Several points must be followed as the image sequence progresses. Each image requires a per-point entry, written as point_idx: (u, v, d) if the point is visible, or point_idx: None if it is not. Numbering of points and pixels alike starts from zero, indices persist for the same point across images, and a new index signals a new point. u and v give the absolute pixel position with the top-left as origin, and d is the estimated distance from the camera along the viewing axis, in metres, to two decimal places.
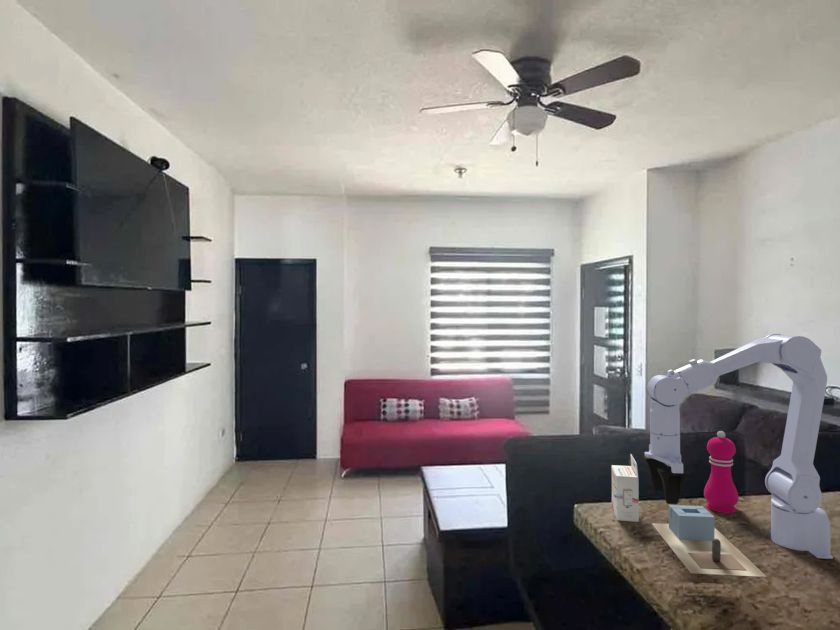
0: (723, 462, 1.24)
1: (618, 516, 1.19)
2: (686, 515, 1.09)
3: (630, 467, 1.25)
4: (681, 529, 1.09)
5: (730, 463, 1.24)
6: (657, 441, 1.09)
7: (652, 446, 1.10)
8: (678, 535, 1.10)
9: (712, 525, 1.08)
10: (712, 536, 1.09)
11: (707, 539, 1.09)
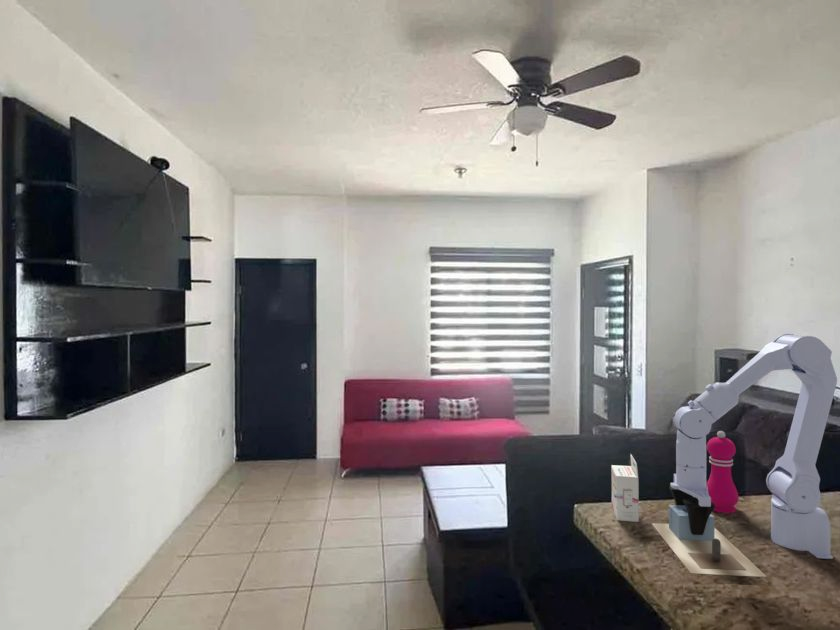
0: (723, 462, 1.24)
1: (618, 516, 1.19)
2: (686, 515, 1.09)
3: (630, 467, 1.25)
4: (681, 529, 1.09)
5: (730, 463, 1.24)
6: (684, 472, 1.10)
7: (678, 477, 1.11)
8: (678, 535, 1.10)
9: (712, 525, 1.08)
10: (712, 536, 1.09)
11: (707, 539, 1.09)
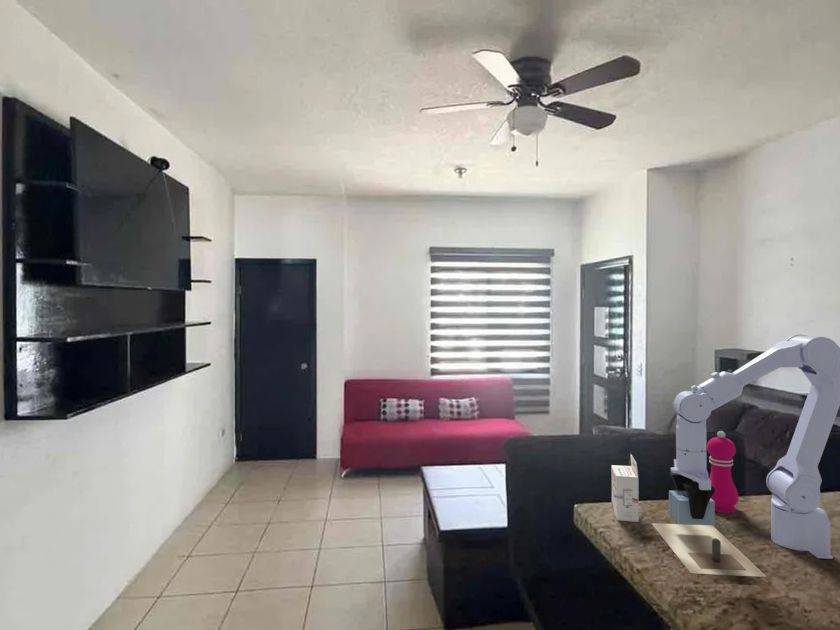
0: (723, 462, 1.24)
1: (618, 516, 1.19)
2: (686, 500, 1.09)
3: (630, 467, 1.25)
4: (681, 514, 1.09)
5: (730, 463, 1.24)
6: (684, 457, 1.10)
7: (678, 462, 1.11)
8: (678, 520, 1.09)
9: (712, 509, 1.08)
10: (712, 520, 1.08)
11: (707, 524, 1.09)
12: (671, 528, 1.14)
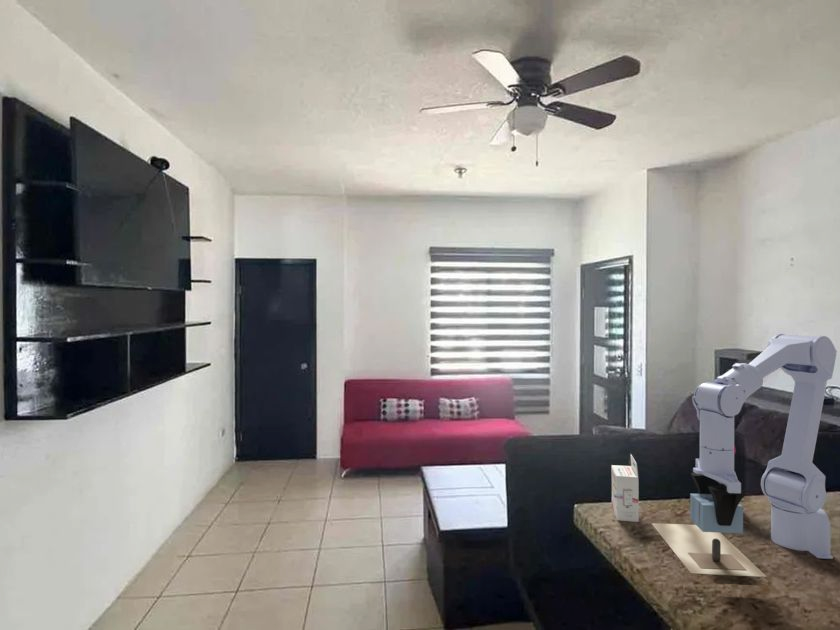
0: None
1: (618, 516, 1.19)
2: (711, 504, 0.97)
3: (630, 467, 1.25)
4: (705, 520, 0.97)
5: None
6: (709, 456, 0.98)
7: (702, 461, 0.99)
8: (702, 527, 0.98)
9: (740, 516, 0.96)
10: (740, 527, 0.96)
11: (735, 531, 0.97)
12: (671, 528, 1.14)
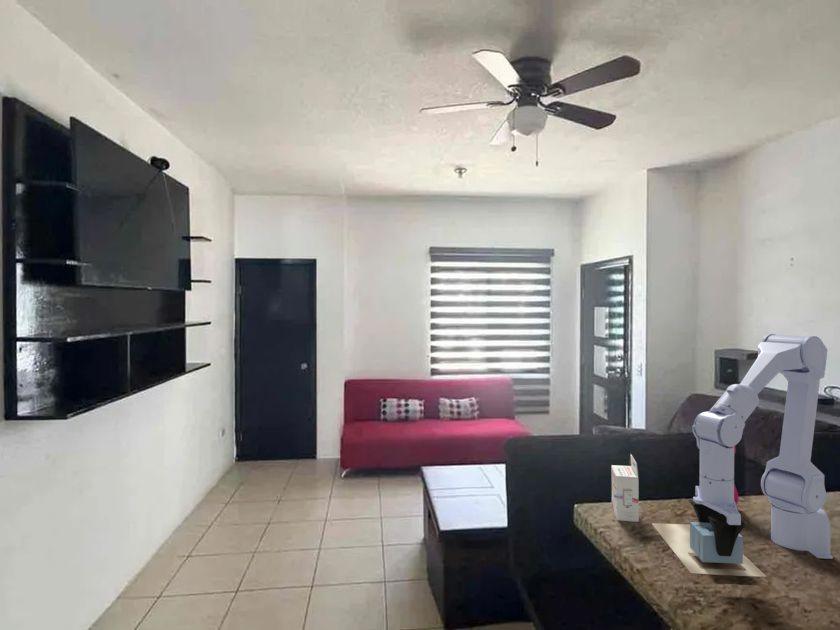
0: None
1: (618, 516, 1.19)
2: (710, 534, 0.97)
3: (630, 467, 1.25)
4: (705, 550, 0.97)
5: None
6: (709, 486, 0.98)
7: (702, 491, 0.99)
8: (702, 557, 0.98)
9: (740, 546, 0.97)
10: (740, 558, 0.97)
11: (734, 562, 0.97)
12: (671, 528, 1.14)
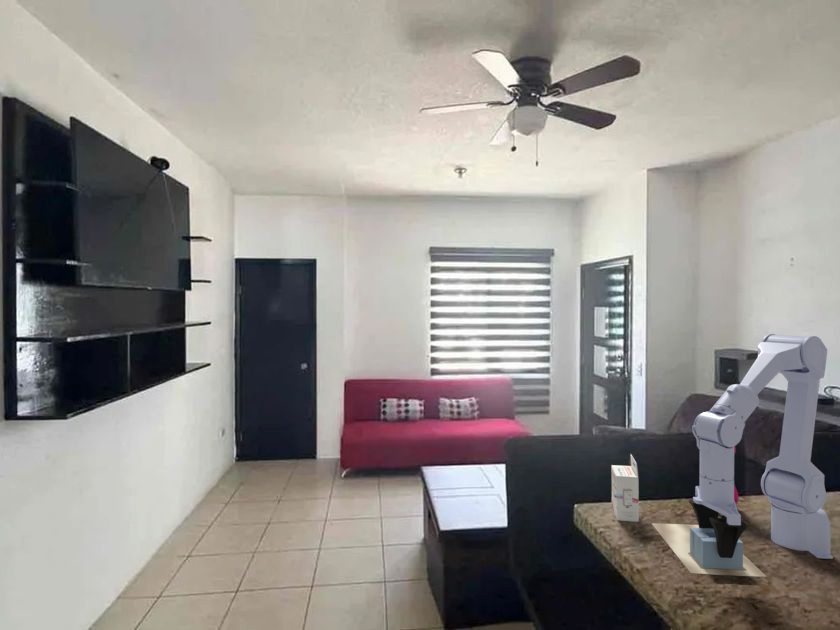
0: None
1: (618, 516, 1.19)
2: (711, 540, 0.97)
3: (630, 467, 1.25)
4: (705, 556, 0.97)
5: None
6: (709, 486, 0.98)
7: (702, 491, 0.99)
8: (702, 563, 0.98)
9: (740, 552, 0.97)
10: (740, 564, 0.97)
11: (735, 568, 0.97)
12: (671, 528, 1.14)
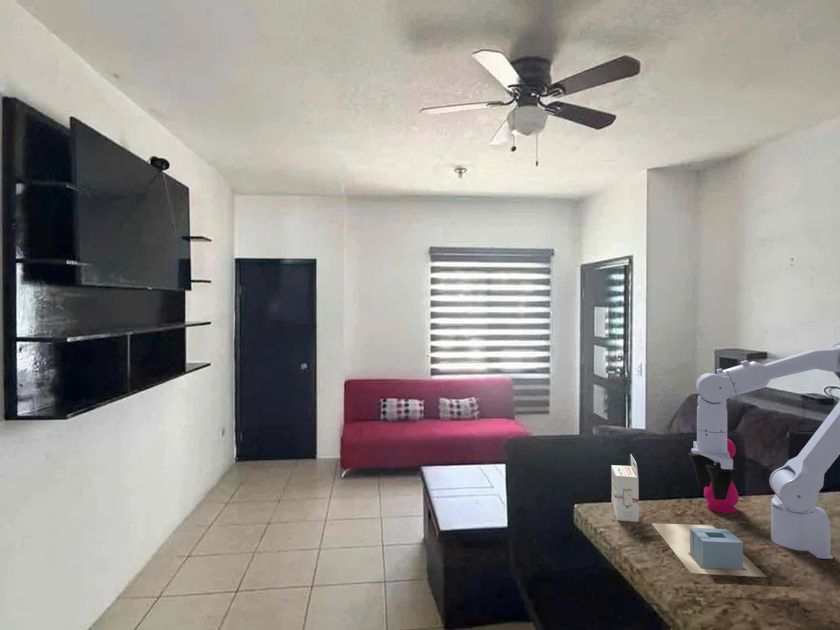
0: None
1: (618, 516, 1.19)
2: (711, 540, 0.97)
3: (630, 467, 1.25)
4: (705, 556, 0.97)
5: None
6: (705, 437, 1.11)
7: (699, 443, 1.12)
8: (702, 563, 0.98)
9: (740, 552, 0.97)
10: (740, 564, 0.97)
11: (735, 568, 0.97)
12: (671, 528, 1.14)
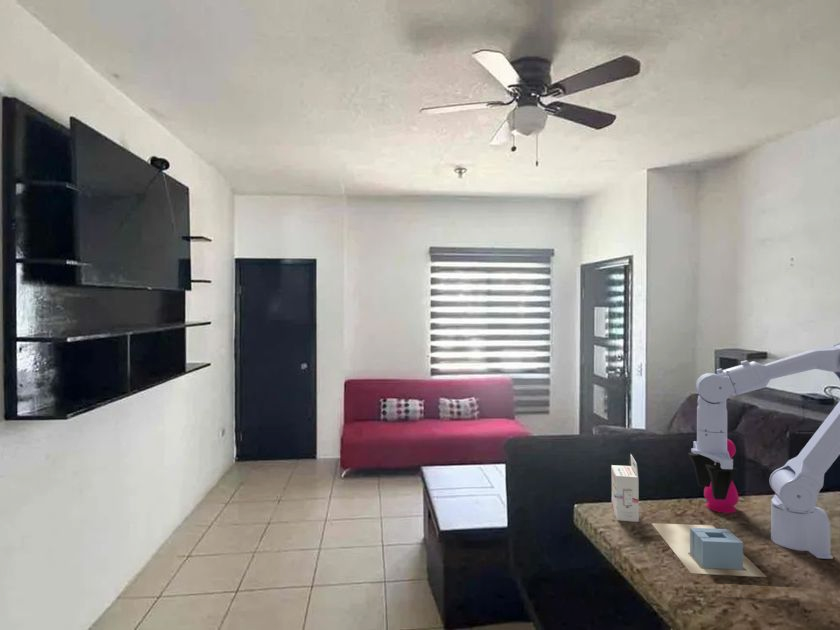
0: None
1: (618, 516, 1.19)
2: (711, 540, 0.97)
3: (630, 467, 1.25)
4: (705, 556, 0.97)
5: None
6: (705, 437, 1.11)
7: (699, 443, 1.13)
8: (702, 563, 0.98)
9: (740, 552, 0.97)
10: (740, 564, 0.97)
11: (735, 568, 0.97)
12: (671, 528, 1.14)
